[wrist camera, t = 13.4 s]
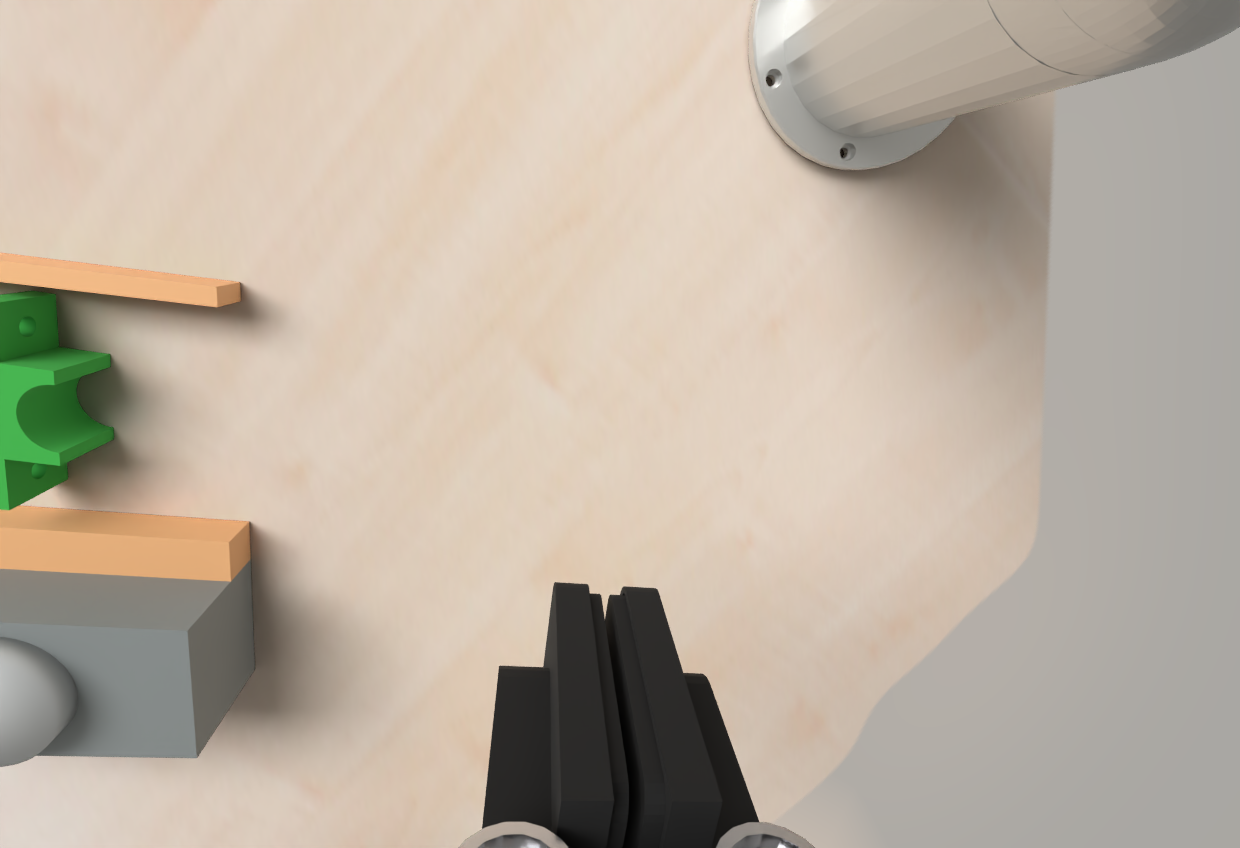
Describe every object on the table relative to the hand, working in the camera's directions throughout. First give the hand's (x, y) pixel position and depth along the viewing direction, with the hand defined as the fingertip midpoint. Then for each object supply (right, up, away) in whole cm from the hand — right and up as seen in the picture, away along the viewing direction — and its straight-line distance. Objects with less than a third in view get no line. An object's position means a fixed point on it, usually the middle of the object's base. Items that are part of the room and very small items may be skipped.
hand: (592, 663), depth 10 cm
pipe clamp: (-29, +6, +24) cm, 38 cm away
